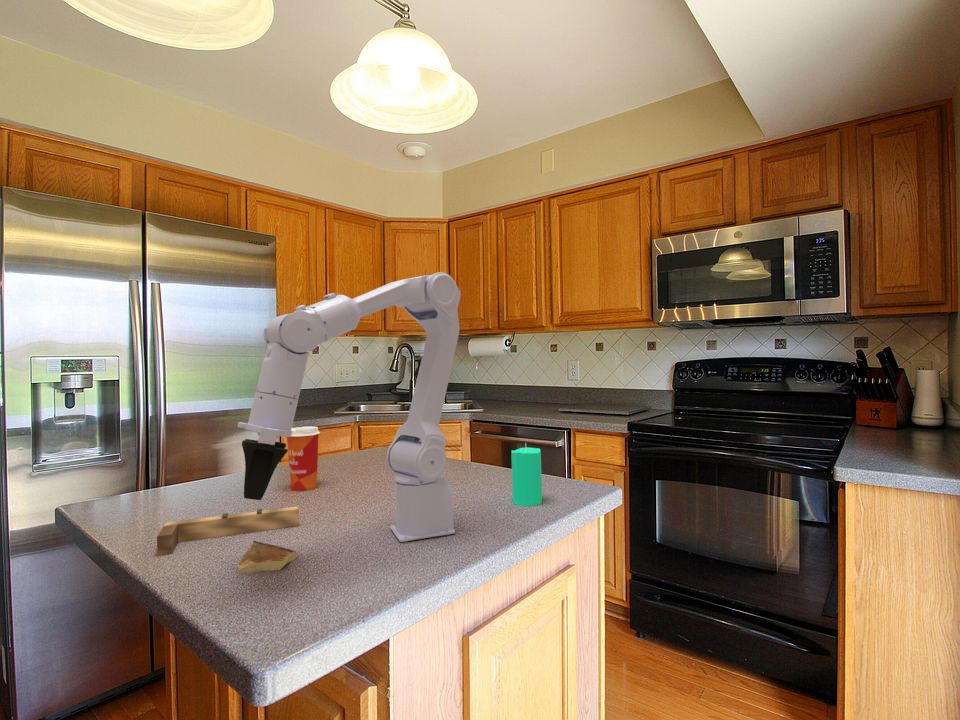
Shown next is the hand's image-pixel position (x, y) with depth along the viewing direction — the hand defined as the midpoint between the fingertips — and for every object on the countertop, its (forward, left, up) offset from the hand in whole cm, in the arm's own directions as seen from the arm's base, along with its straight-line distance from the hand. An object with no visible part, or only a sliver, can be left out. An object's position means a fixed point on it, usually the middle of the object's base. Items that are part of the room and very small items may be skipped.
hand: (253, 494), depth 70 cm
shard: (0, -7, -12) cm, 14 cm away
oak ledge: (+4, -20, -12) cm, 24 cm away
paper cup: (-9, -51, -12) cm, 53 cm away
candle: (-50, -17, -12) cm, 54 cm away
